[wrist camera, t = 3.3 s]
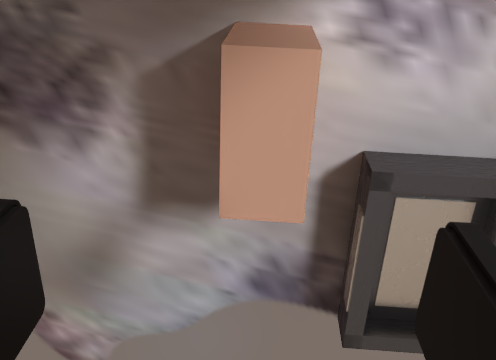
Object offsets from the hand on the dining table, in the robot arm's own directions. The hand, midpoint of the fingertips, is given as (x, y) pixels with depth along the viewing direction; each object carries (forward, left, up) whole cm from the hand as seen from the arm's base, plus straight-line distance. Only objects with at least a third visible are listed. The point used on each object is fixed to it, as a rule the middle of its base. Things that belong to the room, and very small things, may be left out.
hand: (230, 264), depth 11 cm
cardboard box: (0, +1, -14) cm, 14 cm away
